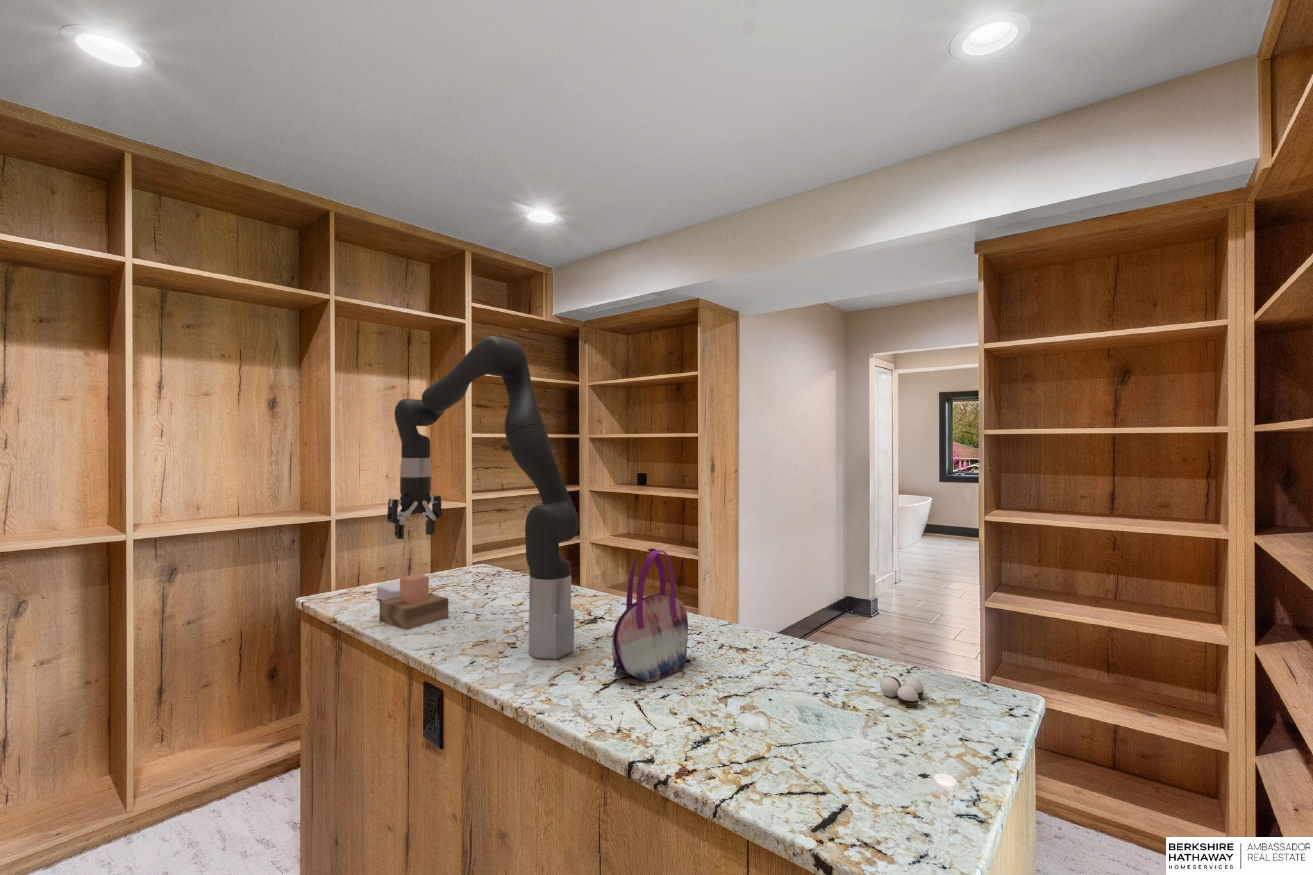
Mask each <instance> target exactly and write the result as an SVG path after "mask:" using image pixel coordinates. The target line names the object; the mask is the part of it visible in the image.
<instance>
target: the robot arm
mask: <svg viewBox="0 0 1313 875" xmlns="http://www.w3.org/2000/svg"><path fill="white" fill-rule="evenodd" d="M528 363H529V362H528V360H527V356H526V353H525V351H524V348H523V347H522V346H521V344H520V343H518V342H516V341H514V340H511V339H509V338H508V339H507V338H503V337H500V336H493V335H491V336H489V335H488V336H486V337H483V338H482V339H480V340H479V341H478V342H477V343H476V344H475V345H474V346H472V348H471V349H470V350H469V351H468V352H467V353H466V355H465V356H464V357H463V358H461V359H460V361H459V362H457V364H456V365H455V366H454V367H453V368H452V369H451V370H450V371H449V372H447V373H446V375H444V376H442V377H441V378H440V379H438V380H437V381H436V382H433V384H431V385H430V386H429V387H427V388H426V389H425V390H424V391H423V392H422V394H421V399H417V398H416V399H415V398H403V399H401V400H399V401H398V402H397V404H396V405H395V408H394V420H395V424H396V428H397V432H398V435H399V439H400V442H401V458H400V466H399V493H400V498H399V499H397V498H396V499H394V498H389V499H388V502H387V517H386V522H388V523H390V524H393V525H394V537H395V538H396V539H397V540H403V539H404V535H405V525H404V523H405V522H406V520H407V518H409V517H410V516H411V515H416V514H422V515H423V516H424V518H425V519H426V521H425V534H426V535H427V536H433V535H434V533H435V522H436V520H437V519H439V518H442V516H443V513H442V510H443V509H442V497H441V495H435V494H433V495H431V491H432V462H431V439H430V437H428V436H426V435H423V434H421V433H420V432H419V430H418V427H428V426H431V425H433V424H435V423H436V422H437V421H438V420H439V419H440V418H441V416H442V415H443V413H444V412H445V411H446V410H448V409H450V408H451V407H452V406H454V405H455V404H457V403H458V402H459V401H461V399H463V398H464V397H465V395H466V393H467V391H468V390H469V389H468V388H469V387H470V384H471V383H473V381H475V380H477V379H479V378H481V377H484V376H486V375H488V376H494V377H501V379H502V380H503V383H504V386H505V388H506V392H507V395H508V406H507V411H506V415H505V419H504V434H505V438H506V440H507V443H508V447H509V451H510V453H511V456H512V458H513V460H514V461H515V462H516V464H517V465H518V466H519V468H520V469H521V470H522V471H523V472H524V474H525V475H526V476H527V477H528V478H529V480H531V482H532V484H533V485H534V486H535V487H536V489H537V492H538V494H539V496H540V499H541V502H542V504H538V505H535V506H533V507H532V508H531V509H530V510H529V511H528V513H527V515H526V518H525V525H524V532H525V534H524V537H525V538H524V539H525V560H526V563H527V566H528V569H529V587H528V588H529V591H528V593H529V594H528V595H529V599H528V600H529V601H528V602H529V603H528V608H529V609H528V654H529V655H530V656H531V657H533V658H536V659H545V660H546V659H548V660H549V659H551V660H557V659H560V658H561V657H564V656H566V655H568V654H571V653H572V652H574V650H575V649H574V648H575V609H574V608H572V564H571V561H569V560H568V559H566V558H562V557H561V554H560V544H562V543H565V542H569V541H571V540H574V538H575V537H576V536H577V534H578V531H579V526H580V525H579V521H580V520H579V516H578V513H577V510H576V507H575V505H574V502H573V501H572V498H571V496H570V494H569V491H568V489H567V487H566V484H565V483H564V480H563V476H562V475H561V472H560V469H559V466H558V463H557V460H556V457H555V455H554V451H553V448H552V446H551V442H550V438H549V435H548V431H547V429H546V426H545V422H544V421H543V418H542V415H541V411H540V408H539V404H538V402H537V401H538V400H537V398H536V394H535V391H534V388H533V383H532V379H531V373H530V369H529V364H528ZM430 504H431V507H430ZM399 507H401V508H400V510H399ZM398 510H399V511H398Z"/></svg>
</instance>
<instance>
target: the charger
mask: <svg viewBox="0 0 1313 875" xmlns="http://www.w3.org/2000/svg"><path fill="white" fill-rule="evenodd" d="M396 597H400V579H397V580H394V581H393V580H392V581H388V582H382V583H380V584H378V585H377V587H376V599H377V600H380V601H384V600H388V599H392V598H396Z"/></svg>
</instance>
